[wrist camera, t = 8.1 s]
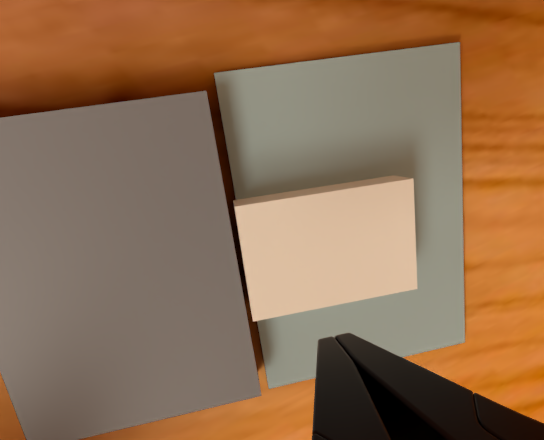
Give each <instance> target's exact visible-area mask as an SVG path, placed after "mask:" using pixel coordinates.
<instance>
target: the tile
mask: <svg viewBox="0 0 544 440" xmlns="http://www.w3.org/2000/svg"><path fill="white" fill-rule="evenodd" d="M233 204H234V211H235V217H236V223H237V229H238V235H239V242H240V248H241V254H242V260H243V267H244V273H245V279H246V285H247V291H248V298H249V304H250V309H251V314H252V319H253V322H254V321H259V320H264V319H269V318H274V317H279V316H284V315H289V314H294V313H299V312H304V311H309V310H314V309H319V308H324V307H329V306H334V305H339V304H344V303H349V302H354V301H359V300H364V299H369V298H374V297H379V296H384V295H389V294H394V293H399V292H405V291H410V290H415V289H417V261H416V233H415V206H414V179H413V178H407V177H401V176H395V175H392V176H386V177H379V178H373V179H367V180H360V181H354V182H347V183H341V184H334V185H328V186H321V187H315V188H309V189H302V190H296V191H289V192H283V193H276V194H270V195H263V196H257V197H251V198H244V199H238V200H233Z"/></svg>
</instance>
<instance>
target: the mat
mask: <svg viewBox="0 0 544 440" xmlns="http://www.w3.org/2000/svg"><path fill="white" fill-rule="evenodd" d="M214 77H215V83H216V89H217V94H218V100H219V106H220V112H221V117H222V123H223V129H224V134H225V140H226V146H227V152H228V157H229V163H230V169H231V175H232V180H233V186H234V192H235V198H236V200H238V199H244V198H251V197H257V196H263V195H270V194H276V193H283V192H289V191H296V190H302V189H309V188H315V187H321V186H328V185H334V184H341V183H347V182H354V181H360V180H367V179H373V178H379V177H386V176H392V175H395V176H401V177H407V178H413V179H414V206H415V233H416V261H417V289H415V290H410V291H405V292H399V293H394V294H389V295H384V296H379V297H374V298H369V299H364V300H359V301H354V302H349V303H344V304H339V305H334V306H329V307H324V308H319V309H314V310H309V311H304V312H299V313H294V314H289V315H284V316H279V317H274V318H269V319H264V320H259V321H257V324H258V330H259V336H260V341H261V347H262V353H263V359H264V364H265V370H266V376H267V382H268V387H269V389H271V388H275V387H279V386H283V385H288V384H292V383H296V382H300V381H304V380H309V379H313V378H316V363H317V346H318V340H319V339H321V338H326V337H330V336H333V337H335V336H336V335H339V334H344V333H352V334H354V335H356V336H358V337H360V338H362V339H364V340H366V341H368V342H371V343H373V344H375V345H377V346H379V347H381V348H383V349H385V350H387V351H389V352H391V353H393V354H396V355H398V356H400V357H405V356H410V355H414V354H418V353H422V352H426V351H431V350H435V349H439V348H443V347H447V346H452V345H456V344H460V343H464V342H465V314H464V253H463V191H462V130H461V69H460V42H456V43H448V44H440V45H432V46H424V47H416V48H408V49H400V50H392V51H384V52H376V53H368V54H360V55H352V56H344V57H336V58H328V59H320V60H313V61H305V62H297V63H289V64H281V65H273V66H265V67H257V68H249V69H241V70H233V71H225V72H217V73H214Z"/></svg>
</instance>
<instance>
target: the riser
mask: <svg viewBox="0 0 544 440" xmlns="http://www.w3.org/2000/svg"><path fill="white" fill-rule="evenodd" d="M0 373H1V375H2V378H3V380H4V383H5V386H6V388H7V391H8V393H9V396H10V399H11V401H12V404H13V406H14V409H15V412H16V414H17V417H18V419H19V422H20V425H21V427H22V430H23V432H24V435H25V438H26V440H78V439H83V438H87V437H91V436H95V435H99V434H103V433H108V432H112V431H116V430H120V429H124V428H129V427H133V426H137V425H141V424H145V423H149V422H154V421H158V420H162V419H166V418H170V417H175V416H179V415H183V414H187V413H191V412H195V411H200V410H204V409H208V408H212V407H216V406H220V405H225V404H229V403H233V402H237V401H241V400H246V399H250V398H254V397H258V396H261V390H260V384H259V378H258V372H257V367H256V361H255V356H254V350H253V345H252V339H251V334H250V328H249V323H248V317H247V311H246V306H245V300H244V295H243V289H242V284H241V278H240V273H239V267H238V262H237V256H236V251H235V245H234V239H233V234H232V228H231V223H230V217H229V212H228V206H227V201H226V195H225V190H224V184H223V179H222V173H221V167H220V162H219V156H218V151H217V145H216V140H215V134H214V129H213V123H212V118H211V112H210V107H209V101H208V96H207V91H200V92H192V93H185V94H177V95H169V96H162V97H154V98H147V99H139V100H131V101H124V102H116V103H108V104H101V105H93V106H86V107H78V108H70V109H63V110H55V111H48V112H40V113H32V114H25V115H17V116H9V117H2V118H0Z"/></svg>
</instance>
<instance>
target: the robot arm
mask: <svg viewBox="0 0 544 440" xmlns="http://www.w3.org/2000/svg"><path fill="white" fill-rule="evenodd" d="M312 434H313V435H312V440H544V423H541V422H539V421H537V420H534V419H532V418H529V417H527V416H525V415H522V414H520V413H518V412H516V411H514V410H511V409H509V408H507V407H505V406H503V405H500V404H498V403H496V402H494V401H492V400H490V399H488V398H486V397H483V396H481V395H479V394H477V393H474V394H473V392H472V391H471V390H469V389H466V388H464V387H462V386H460V385H458V384H456V383H454V382H452V381H450V380H448V379H446V378H444V377H441V376H439V375H437V374H435V373H433V372H431V371H429V370H427V369H425V368H423V367H421V366H418V365H416V364H414V363H412V362H410V361H408V360H406V359H404V358H402V357H400V356H398V355H396V354H393V353H391V352H389V351H387V350H385V349H383V348H381V347H379V346H377V345H375V344H373V343H371V342H368V341H366V340H364V339H362V338H360V337H358V336H356V335H354V334H352V333H344V334H339V335H336V336H335V337H333V336H330V337H326V338H321V339H319V340H318V346H317V363H316V380H315V398H314V415H313V433H312Z"/></svg>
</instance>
